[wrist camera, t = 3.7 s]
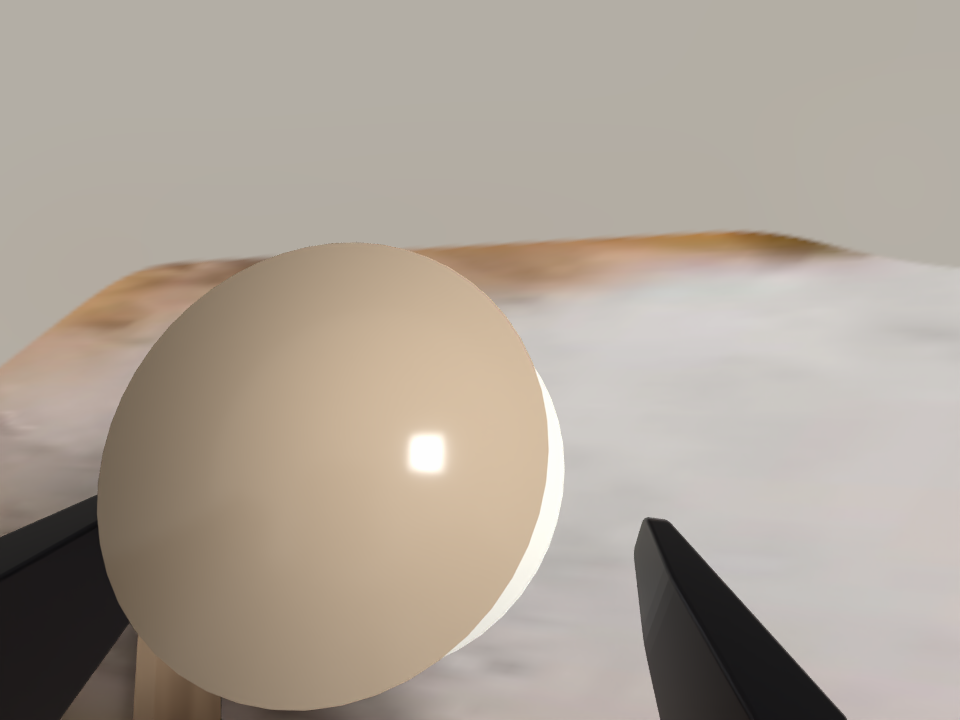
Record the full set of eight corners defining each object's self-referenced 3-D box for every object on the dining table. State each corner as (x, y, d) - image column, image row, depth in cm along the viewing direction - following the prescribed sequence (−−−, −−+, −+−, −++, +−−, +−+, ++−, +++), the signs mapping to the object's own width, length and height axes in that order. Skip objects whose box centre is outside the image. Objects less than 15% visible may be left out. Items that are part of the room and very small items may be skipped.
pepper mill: (541, 543, 16) (673, 697, 3) (403, 572, 16) (13, 839, 3) (511, 407, 17) (521, 173, 5) (386, 434, 17) (86, 263, 5)
